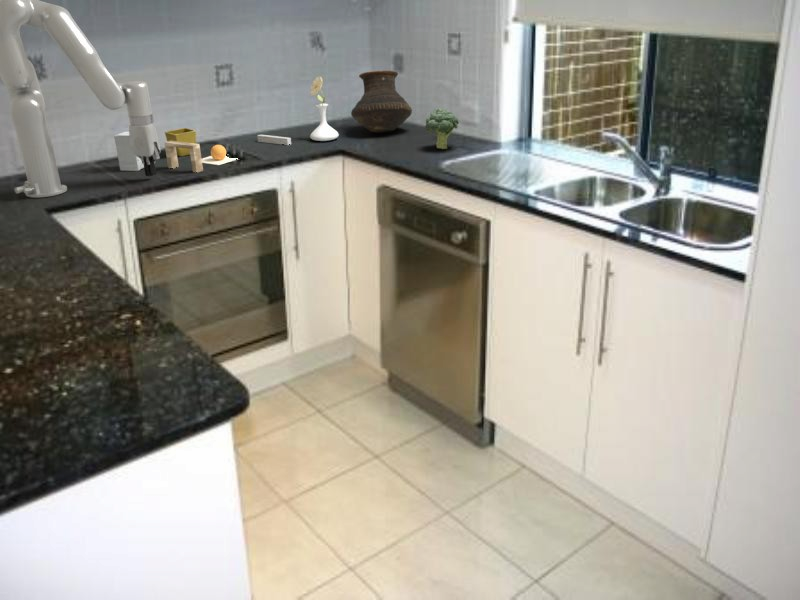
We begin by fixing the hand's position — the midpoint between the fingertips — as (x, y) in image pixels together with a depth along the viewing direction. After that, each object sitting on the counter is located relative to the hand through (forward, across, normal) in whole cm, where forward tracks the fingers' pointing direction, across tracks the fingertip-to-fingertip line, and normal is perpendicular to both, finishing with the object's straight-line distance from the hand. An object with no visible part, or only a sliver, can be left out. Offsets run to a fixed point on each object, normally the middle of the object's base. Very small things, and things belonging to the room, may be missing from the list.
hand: (150, 175), depth 263 cm
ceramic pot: (+2, +30, +93) cm, 98 cm away
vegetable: (+2, +67, +79) cm, 104 cm away
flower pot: (+2, -19, +31) cm, 36 cm away
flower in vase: (+2, +16, +73) cm, 75 cm away
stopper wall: (+2, 0, +61) cm, 61 cm away
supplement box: (+2, -19, +8) cm, 21 cm away
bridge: (+2, 0, +15) cm, 15 cm away
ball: (-1, +1, +30) cm, 30 cm away
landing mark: (+2, 0, +31) cm, 31 cm away
